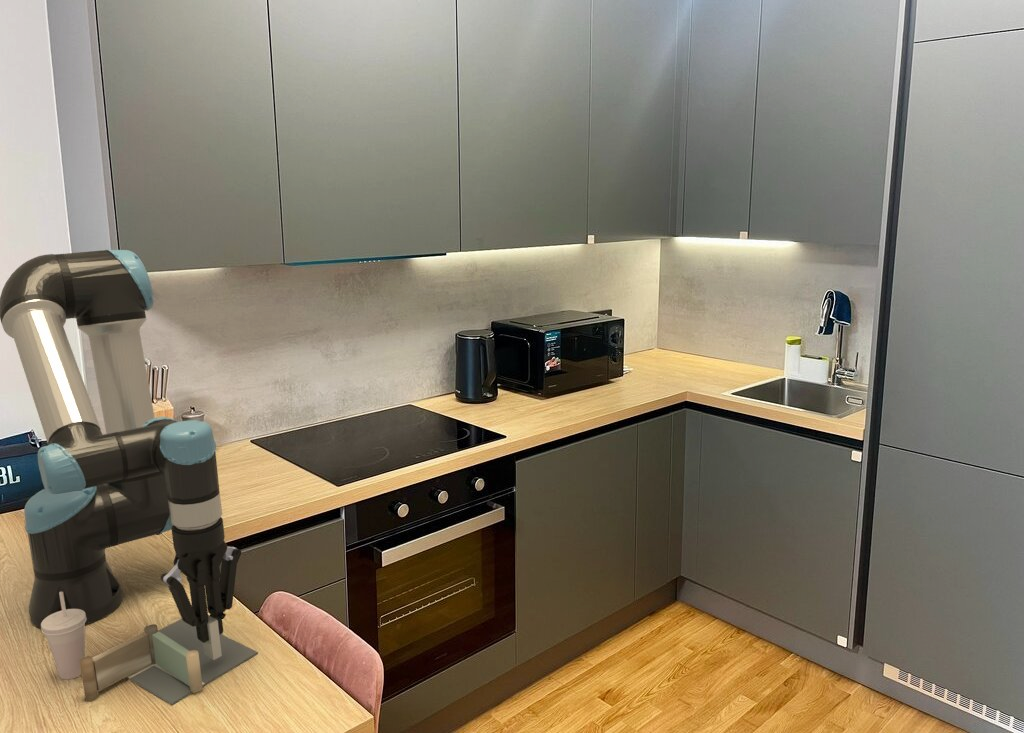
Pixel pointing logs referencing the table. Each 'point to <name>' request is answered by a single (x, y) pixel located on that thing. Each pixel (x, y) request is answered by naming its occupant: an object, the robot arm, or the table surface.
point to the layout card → (186, 636)
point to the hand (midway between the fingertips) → (212, 655)
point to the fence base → (117, 662)
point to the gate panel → (178, 661)
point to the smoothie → (66, 639)
